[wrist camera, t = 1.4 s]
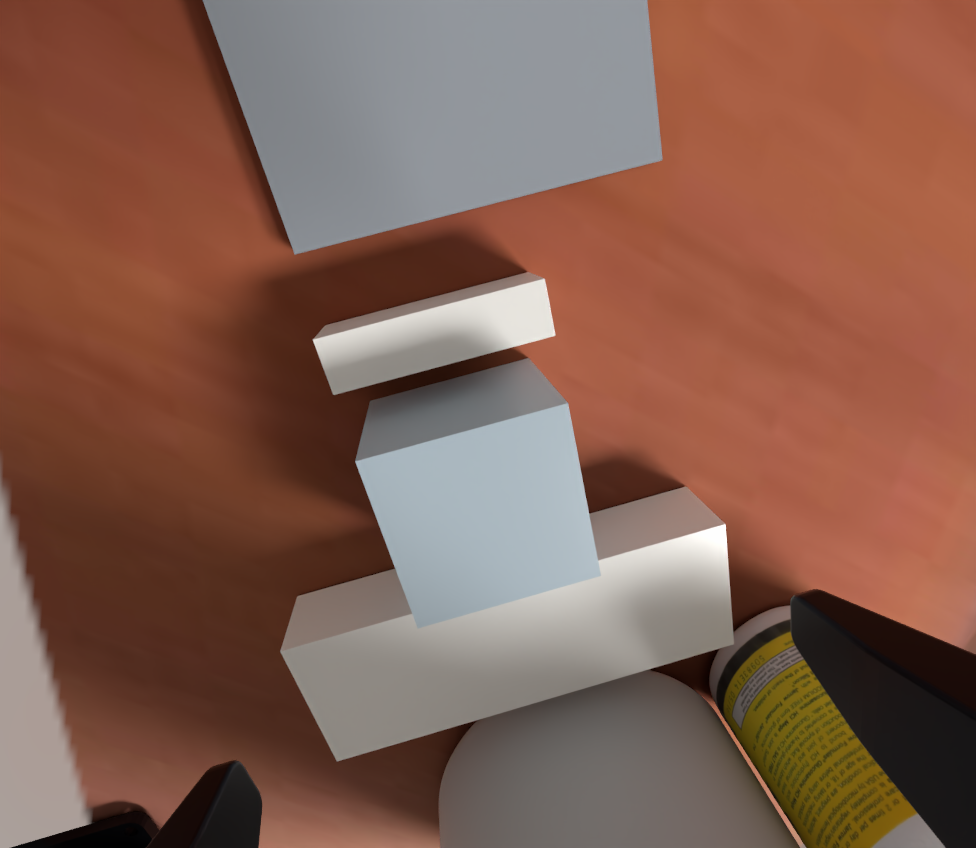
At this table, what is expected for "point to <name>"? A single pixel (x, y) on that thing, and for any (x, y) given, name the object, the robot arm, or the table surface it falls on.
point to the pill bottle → (807, 744)
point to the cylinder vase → (606, 775)
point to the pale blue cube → (478, 491)
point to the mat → (434, 103)
